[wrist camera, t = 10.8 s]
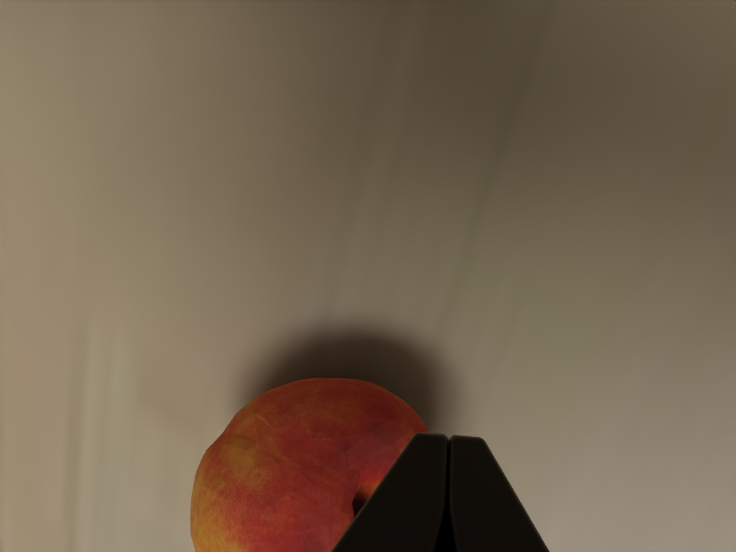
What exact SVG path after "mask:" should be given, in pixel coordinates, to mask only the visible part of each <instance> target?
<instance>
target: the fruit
mask: <svg viewBox="0 0 736 552" xmlns="http://www.w3.org/2000/svg"><path fill="white" fill-rule="evenodd" d="M418 432H425V433H429V432H428V430H427V428H426V427H425V425H424V423H423V421H422V420H421V418H420V417H419V415H418V414H417V413H416V411H415V410H414V409H413V408H412V407H411V406H410V405H408V404H407V403H406V402H405V401H404V400H403V399H401V398H400V397H398V396H396V395H395V394H393V393H391V392H390V391H388V390H387V389H385V388H383V387H381V386H379V385H377V384H375V383H372V382H368V381H364V380H360V379H347V378H309V379H303V380H297V381H294V382H291V383H288V384H285V385H282V386H279V387H276V388H273V389H270V390H268V391H266V392H264V393H263V394H261V395H260V396H258V397H256V398H255V399H253V400H252V401H251V402H249V403H248V404H247V405H246V406H245V407H244V408H242V409H241V410H240V411H239V412H238V413H237V414H236V415H235V417H234V418H233V419H232V421H231V422H230V424H229V425H228V426H227V428H226V429H225V430H224V432H223V433H222V434H221V436H220V437H219V438H218V439H217V440H216V441H215V442H214V443H213V444H212V445H211V446H210V447H209V448H208V449H207V450H206V452H205V454H204V456H203V457H202V460H201V462H200V465H199V467H198V470H197V472H196V474H195V480H194V486H193V492H192V498H191V537H192V541H193V544H194V548H195V551H196V552H331V551H332V549H333V548H334V546H335V545H336V544H337V542H338V541H339V539H340V538H341V537H342V535H343V534H344V532H345V531H346V530H347V528H348V527H349V525H350V524H351V523H352V521H353V520H354V518H355V517H356V516H357V514H358V513H359V511H360V510H361V509H362V507H363V506H364V504H365V503H366V502H367V500H368V499H369V497H370V496H371V494H372V493H373V492H374V490H375V489H376V487H377V486H378V485H379V483H380V482H381V480H382V479H383V478H384V476H385V475H386V473H387V472H388V471H389V469H390V468H391V466H392V465H393V464H394V462H395V461H396V459H397V458H398V457H399V455H400V454H401V452H402V451H403V450H404V448H405V447H406V445H407V444H408V443H409V441H410V440H411V438H412V437H413V436H414V435H415V434H416V433H418Z"/></svg>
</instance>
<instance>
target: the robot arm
mask: <svg viewBox="0 0 736 552" xmlns="http://www.w3.org/2000/svg"><path fill="white" fill-rule="evenodd" d="M331 552H549V550H548V548H547V546H546V545H545V543H544V541H543V540H542V538H541V536H540V534H539V533H538V531H537V529H536V528H535V526H534V524H533V522H532V521H531V519H530V517H529V516H528V514H527V512H526V510H525V509H524V507H523V505H522V504H521V502H520V500H519V498H518V497H517V495H516V493H515V492H514V490H513V488H512V486H511V485H510V483H509V481H508V480H507V478H506V476H505V474H504V473H503V471H502V469H501V468H500V466H499V464H498V462H497V461H496V459H495V457H494V456H493V454H492V452H491V450H490V449H489V447H488V445H487V444H486V442H485V441H484V440H483V439H482V438H480V437H472V436H460V435H453V436H452V437H451V438H450V440H449V439H448V437H447V436H446V435H445V434H437V433H425V432H418V433H416V434H415V435H414V436H413V437H412V438H411V440H410V441H409V443H408V444H407V445H406V447H405V448H404V450H403V451H402V452H401V454H400V455H399V457H398V458H397V459H396V461H395V462H394V464H393V465H392V466H391V468H390V469H389V471H388V472H387V473H386V475H385V476H384V478H383V479H382V480H381V482H380V483H379V485H378V486H377V487H376V489H375V490H374V492H373V493H372V494H371V496H370V497H369V499H368V500H367V502H366V503H365V504H364V506H363V507H362V509H361V510H360V511H359V513H358V514H357V516H356V517H355V518H354V520H353V521H352V523H351V524H350V525H349V527H348V528H347V530H346V531H345V532H344V534H343V535H342V537H341V538H340V539H339V541H338V542H337V544H336V545H335V546H334V548H333V549H332V551H331Z"/></svg>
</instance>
